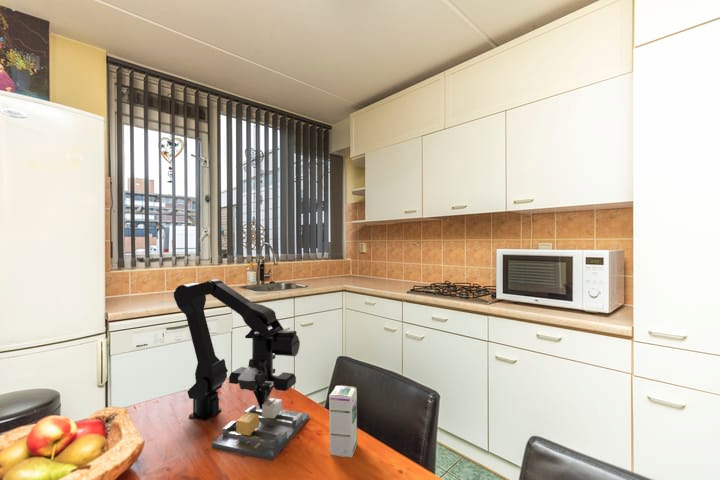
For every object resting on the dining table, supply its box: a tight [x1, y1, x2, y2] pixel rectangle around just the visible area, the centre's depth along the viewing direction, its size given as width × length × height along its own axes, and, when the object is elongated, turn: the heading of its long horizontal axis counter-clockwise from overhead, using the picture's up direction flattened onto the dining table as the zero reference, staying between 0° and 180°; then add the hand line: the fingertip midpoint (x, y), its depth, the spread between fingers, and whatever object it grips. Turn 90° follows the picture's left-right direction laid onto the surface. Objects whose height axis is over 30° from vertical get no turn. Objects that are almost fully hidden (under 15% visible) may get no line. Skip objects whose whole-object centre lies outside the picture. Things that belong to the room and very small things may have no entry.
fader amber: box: [236, 412, 259, 436], centre depth 85 cm, size 4×4×5 cm
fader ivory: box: [262, 397, 283, 419], centre depth 93 cm, size 4×4×5 cm
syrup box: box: [328, 385, 358, 458], centre depth 81 cm, size 6×6×14 cm
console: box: [211, 404, 310, 462], centre depth 89 cm, size 17×20×3 cm
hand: (262, 408), depth 94 cm, fingers closed
